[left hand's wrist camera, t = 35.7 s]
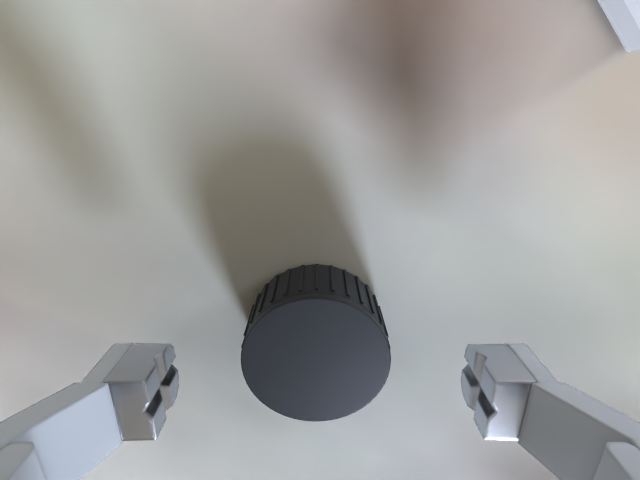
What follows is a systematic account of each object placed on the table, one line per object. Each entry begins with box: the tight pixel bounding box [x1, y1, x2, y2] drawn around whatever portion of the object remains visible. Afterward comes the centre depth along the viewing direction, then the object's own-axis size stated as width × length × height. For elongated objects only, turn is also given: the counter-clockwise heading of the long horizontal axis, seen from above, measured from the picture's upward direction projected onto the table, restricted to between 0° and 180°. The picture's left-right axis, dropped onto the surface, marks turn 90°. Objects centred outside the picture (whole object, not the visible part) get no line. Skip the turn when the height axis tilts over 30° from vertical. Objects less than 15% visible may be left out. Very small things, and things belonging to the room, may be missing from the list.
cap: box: [241, 264, 391, 421], centre depth 12 cm, size 4×4×2 cm
